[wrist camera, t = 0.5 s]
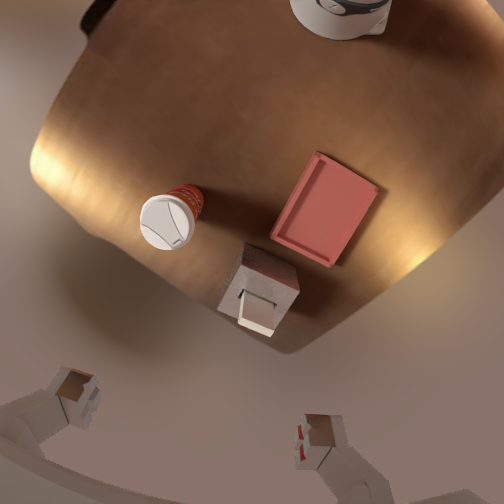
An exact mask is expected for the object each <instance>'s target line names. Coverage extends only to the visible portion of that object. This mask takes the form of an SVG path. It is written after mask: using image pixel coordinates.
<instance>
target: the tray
mask: <svg viewBox="0 0 504 504" xmlns="http://www.w3.org/2000/svg"><path fill="white" fill-rule="evenodd" d="M379 190H380V189H379V188H378V187H376V186H374V185H373V184H371V183H370V182H368V181H366V180H365V179H363V178H362V177H360V176H358V175H357V174H355V173H353V172H352V171H350V170H348V169H347V168H345V167H343V166H342V165H340V164H338V163H337V162H335V161H333V160H331V159H330V158H328V157H326V156H324V155H323V154H321V153H319V152H317V151H315V152H314V154H313V155H312V157H311V159H310V161H309V163H308V165H307V166H306V168H305V170H304V172H303V174H302V175H301V177H300V179H299V181H298V183H297V184H296V186H295V188H294V190H293V192H292V194H291V195H290V197H289V199H288V201H287V203H286V204H285V206H284V208H283V210H282V212H281V213H280V215H279V217H278V219H277V221H276V222H275V224H274V226H273V228H272V230H271V231H270V239H273V240H275V241H277V242H279V243H281V244H283V245H285V246H287V247H289V248H291V249H293V250H295V251H297V252H299V253H301V254H303V255H305V256H307V257H309V258H311V259H313V260H315V261H317V262H319V263H321V264H323V265H325V266H327V267H329V268H332V266H333V265H334V263H335V262H336V260H337V259H338V257H339V255H340V254H341V252H342V251H343V249H344V248H345V246H346V244H347V243H348V241H349V240H350V238H351V236H352V235H353V233H354V232H355V230H356V228H357V227H358V225H359V223H360V222H361V220H362V218H363V217H364V215H365V214H366V212H367V210H368V209H369V207H370V205H371V203H372V202H373V200H374V198H375V197H376V195H377V193H378V192H379Z"/></svg>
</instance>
